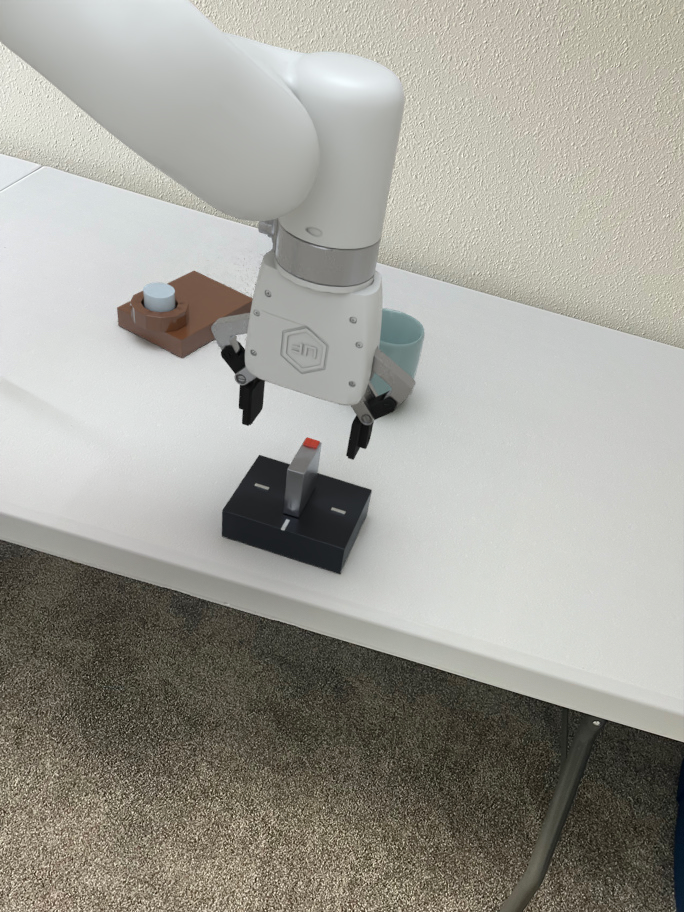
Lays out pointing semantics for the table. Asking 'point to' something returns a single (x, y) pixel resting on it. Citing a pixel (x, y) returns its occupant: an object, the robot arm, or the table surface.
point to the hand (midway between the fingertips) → (303, 433)
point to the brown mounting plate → (184, 314)
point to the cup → (399, 344)
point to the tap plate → (305, 538)
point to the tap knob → (302, 477)
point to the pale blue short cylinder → (159, 297)
